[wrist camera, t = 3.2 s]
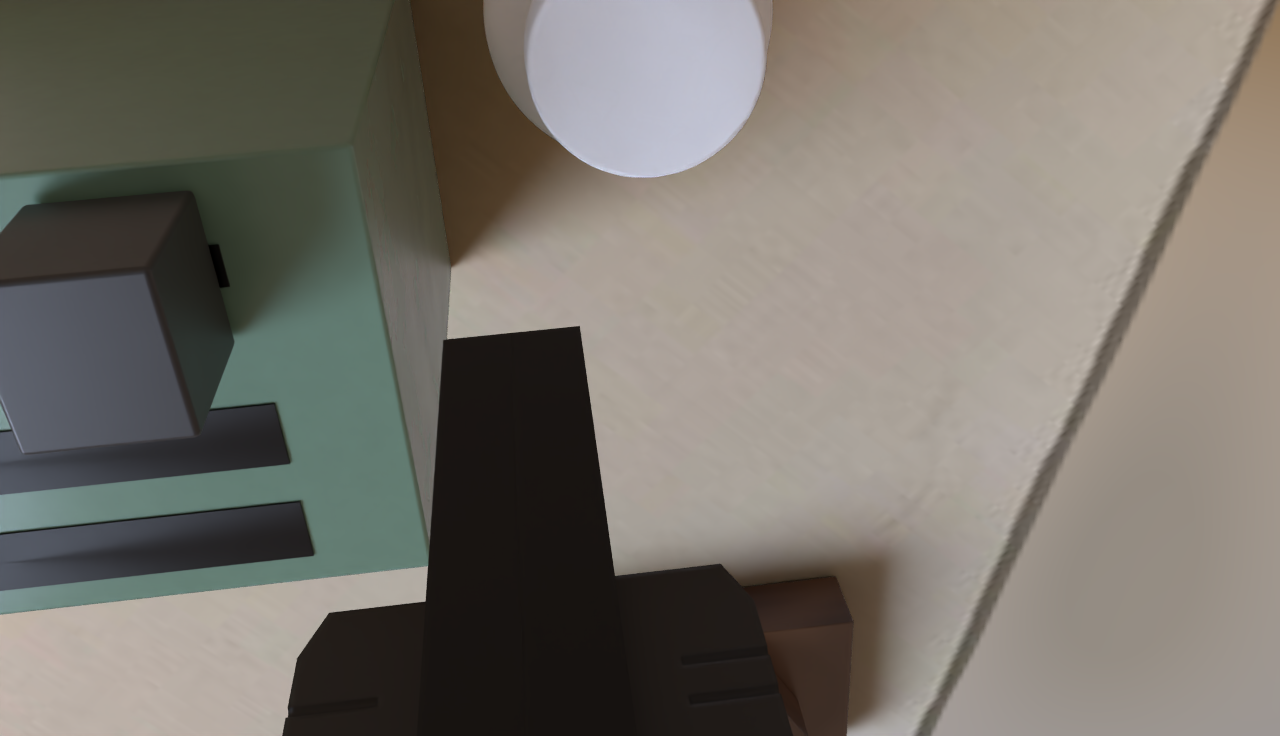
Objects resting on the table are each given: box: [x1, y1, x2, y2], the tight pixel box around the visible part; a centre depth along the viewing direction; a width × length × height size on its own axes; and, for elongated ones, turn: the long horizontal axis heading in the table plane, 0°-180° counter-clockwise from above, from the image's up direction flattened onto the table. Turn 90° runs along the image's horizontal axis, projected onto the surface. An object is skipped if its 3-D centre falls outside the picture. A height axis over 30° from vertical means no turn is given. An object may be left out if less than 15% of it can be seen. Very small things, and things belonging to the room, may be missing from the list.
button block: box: [742, 576, 853, 736], centre depth 38 cm, size 10×8×4 cm
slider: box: [0, 191, 235, 455], centre depth 16 cm, size 2×3×3 cm
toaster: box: [0, 0, 451, 615], centre depth 23 cm, size 14×8×12 cm, turn 93°
